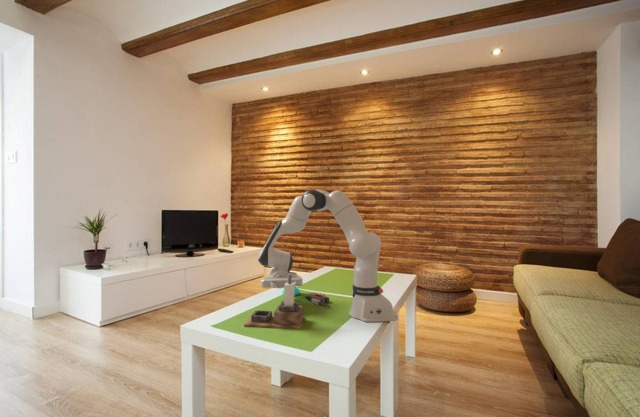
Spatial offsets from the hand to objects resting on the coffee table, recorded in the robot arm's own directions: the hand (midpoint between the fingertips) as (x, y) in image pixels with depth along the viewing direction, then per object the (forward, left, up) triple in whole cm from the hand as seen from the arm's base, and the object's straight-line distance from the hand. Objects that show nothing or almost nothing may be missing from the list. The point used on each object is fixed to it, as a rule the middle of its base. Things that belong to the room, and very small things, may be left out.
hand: (284, 286), depth 151 cm
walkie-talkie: (-16, -19, -14) cm, 29 cm away
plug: (-4, +11, -7) cm, 14 cm away
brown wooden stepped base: (+2, +11, -13) cm, 17 cm away
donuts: (+2, -33, -13) cm, 35 cm away
